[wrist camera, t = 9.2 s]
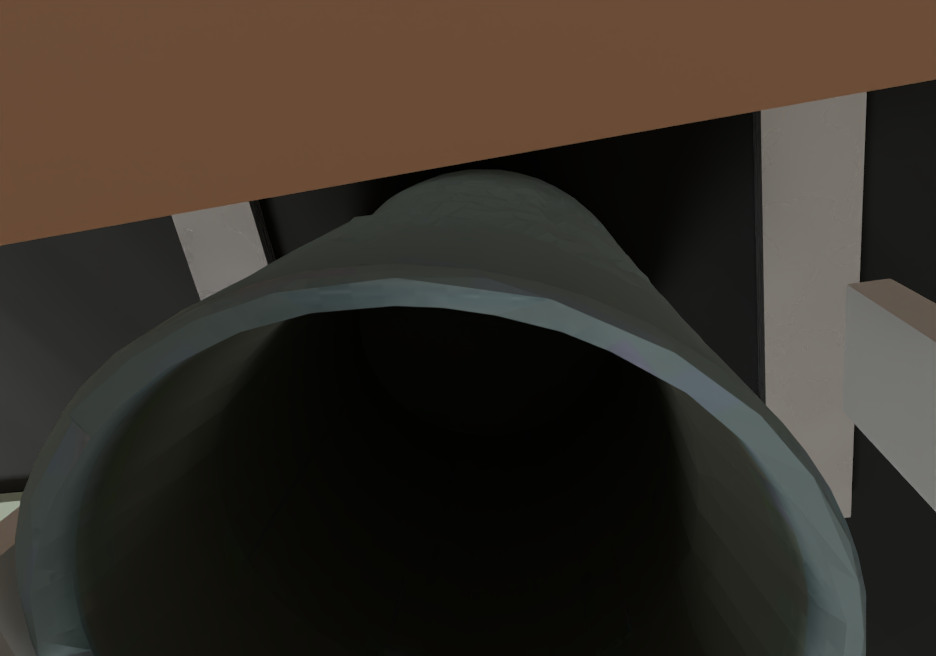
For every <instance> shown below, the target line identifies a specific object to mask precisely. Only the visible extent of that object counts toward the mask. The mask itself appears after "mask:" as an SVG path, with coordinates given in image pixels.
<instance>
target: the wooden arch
mask: <svg viewBox="0 0 936 656" xmlns="http://www.w3.org/2000/svg"><path fill="white" fill-rule="evenodd" d="M935 79H936V0H0V245H6V244H11V243H17V242H23V241H28V240H34V239H40V238H45V237H51V236H57V235H62V234H68V233H73V232H79V231H85V230H90V229H96V228H102V227H107V226H113V225H118V224H124V223H130V222H135V221H141V220H147V219H152V218H158V217H164V216H169V215H175V214H180V213H186V212H192V211H197V210H203V209H209V208H214V207H220V206H225V205H231V204H237V203H242V202H248V201H254V200H259V199H265V198H271V197H276V196H282V195H287V194H293V193H299V192H304V191H310V190H316V189H321V188H327V187H333V186H338V185H344V184H349V183H355V182H361V181H366V180H372V179H378V178H383V177H389V176H395V175H400V174H406V173H411V172H417V171H423V170H428V169H434V168H440V167H445V166H451V165H456V164H462V163H468V162H473V161H479V160H485V159H490V158H496V157H501V156H507V155H513V154H518V153H524V152H530V151H535V150H541V149H547V148H552V147H558V146H563V145H569V144H575V143H580V142H586V141H592V140H597V139H603V138H609V137H614V136H620V135H625V134H631V133H637V132H642V131H648V130H654V129H659V128H665V127H670V126H676V125H682V124H687V123H693V122H699V121H704V120H710V119H716V118H721V117H727V116H732V115H738V114H744V113H749V112H755V111H761V110H766V109H772V108H778V107H783V106H789V105H794V104H800V103H806V102H811V101H817V100H823V99H828V98H834V97H840V96H845V95H851V94H856V93H862V92H868V91H873V90H879V89H885V88H890V87H896V86H901V85H907V84H913V83H918V82H924V81H930V80H935Z"/></svg>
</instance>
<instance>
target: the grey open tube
mask: <svg viewBox="0 0 936 656" xmlns="http://www.w3.org/2000/svg"><path fill="white" fill-rule="evenodd" d="M15 558H16V581H17V590H18V594H19V598H20V601H21V605H22V609H23V612H24V616H25V620H26V624H27V627H28V631H29V635H30V639H31V642H32V646H33V648H34V650H35V653H36V655H37V656H865V654H866V591H865V587H864V582H863V577H862V572H861V567H860V562H859V557H858V554H857V551H856V548H855V545H854V542H853V539H852V536H851V533H850V531H849V528H848V525H847V523H846V521H845V519H844V516H843V514H842V512H841V510H840V508H839V506H838V504H837V501H836V499H835V497H834V495H833V493H832V491H831V489H830V487H829V486H828V484H827V483H826V481H825V479H824V478H823V476H822V475H821V473H820V472H819V470H818V469H817V467H816V466H815V464H814V463H813V461H812V460H811V458H810V457H809V455H808V453H807V452H806V451H805V450H804V448H803V447H802V446H801V445H800V443H799V442H798V441H797V440H796V438H795V437H794V436H793V435H792V433H791V432H790V431H789V430H788V429H787V427H786V426H785V425H784V424H783V422H782V421H781V420H780V419H779V418H778V417H777V416H776V415H775V414H774V413H773V412H772V411H771V410H770V409H769V408H768V407H767V406H766V405H765V404H764V403H763V402H762V401H761V400H760V399H759V398H758V397H757V396H756V394H755V393H754V392H753V391H752V390H751V389H750V388H749V387H748V386H747V385H746V384H745V383H744V382H743V381H742V380H741V379H740V378H739V377H738V376H737V375H736V374H735V373H734V372H733V371H732V370H731V369H730V368H729V367H728V366H727V365H726V364H725V362H724V361H723V360H722V359H721V358H720V357H719V356H718V355H717V354H716V353H715V352H714V351H713V350H712V349H711V348H710V347H708V346H707V345H706V344H705V343H704V341H703V340H702V339H701V337H700V336H699V335H698V334H697V333H696V332H695V331H694V330H693V329H692V328H691V327H690V326H689V325H688V324H687V323H686V322H685V321H684V320H683V319H682V318H681V317H680V315H679V314H678V313H677V312H676V311H675V309H674V308H673V307H672V306H671V305H670V304H669V303H668V301H667V300H666V299H665V298H664V297H663V296H662V295H661V294H660V293H659V292H658V291H657V290H656V289H655V287H654V286H653V285H652V284H651V283H650V281H649V279H648V277H647V276H646V275H645V274H644V273H642V272H641V271H640V270H639V269H638V267H637V266H636V265H635V264H634V262H633V261H632V260H631V259H630V257H629V256H628V255H626V254H625V252H624V251H623V250H622V248H621V247H620V246H619V245H618V244H617V243H616V241H615V240H614V238H613V237H612V236H611V235H610V233H609V232H608V231H607V230H606V228H605V227H604V226H603V225H602V223H601V222H600V221H599V220H598V219H597V218H596V217H595V216H594V215H593V214H592V213H591V212H590V211H589V210H588V209H586V208H585V207H584V206H583V205H582V204H580V203H579V202H578V201H577V200H576V199H575V198H573V197H572V196H570V195H568V194H567V193H565V192H563V191H562V190H560V189H558V188H557V187H555V186H553V185H551V184H548V183H546V182H544V181H542V180H540V179H537V178H534V177H531V176H527V175H524V174H520V173H517V172H511V171H505V170H499V169H468V170H463V171H457V172H452V173H446V174H442V175H439V176H436V177H434V178H431V179H428V180H425V181H423V182H420V183H417V184H415V185H413V186H411V187H409V188H407V189H405V190H403V191H401V192H399V193H398V194H396V195H394V196H393V197H391V198H390V199H389V200H387V201H386V202H385V203H384V204H383V205H382V206H380V207H379V208H378V209H377V210H376V211H375V212H374V213H373V215H368V216H359V217H355V218H353V219H352V220H351V221H349V222H348V223H346V224H344V225H342V226H340V227H338V228H336V229H335V230H333V231H331V232H329V233H327V234H325V235H323V236H321V237H319V238H317V239H315V240H313V241H311V242H309V243H307V244H305V245H304V246H302V247H300V248H298V249H296V250H294V251H292V252H290V253H288V254H286V255H285V256H283V257H281V258H279V259H278V260H276V261H274V262H272V263H270V264H269V265H267V266H265V267H263V268H262V269H260V270H258V271H257V272H255V273H253V274H252V275H250V276H248V277H246V278H244V279H242V280H240V281H238V282H236V283H234V284H232V285H230V286H228V287H226V288H224V289H222V290H221V291H219V292H217V293H215V294H213V295H211V296H209V297H207V298H205V299H203V300H201V301H199V302H197V303H195V304H193V305H191V306H190V307H188V308H186V309H184V310H182V311H180V312H179V313H177V314H176V315H174V316H173V317H171V318H169V319H168V320H166V321H165V322H163V323H161V324H160V325H158V326H157V327H155V328H154V329H152V330H150V331H149V332H147V333H146V334H144V335H142V336H141V337H139V338H138V339H136V340H135V341H133V342H131V343H130V344H128V345H127V346H125V347H124V348H122V349H120V350H119V351H117V352H116V353H115V354H114V355H113V356H112V357H111V358H110V359H109V360H108V361H107V362H106V363H105V364H104V365H103V366H102V367H101V368H99V369H98V370H97V371H96V372H95V373H94V374H93V375H92V376H91V377H90V378H89V379H88V380H87V381H86V382H85V383H84V384H83V385H82V386H81V387H80V389H79V390H78V391H77V393H76V394H75V396H74V397H73V398H72V400H71V401H70V402H69V404H68V405H67V406H66V408H65V409H64V411H63V413H62V415H61V416H60V418H59V420H58V421H57V423H56V425H55V427H54V428H53V430H52V432H51V433H50V435H49V437H48V438H47V440H46V442H45V444H44V445H43V447H42V449H41V450H40V452H39V454H38V456H37V458H36V461H35V463H34V466H33V468H32V471H31V473H30V476H29V479H28V481H27V484H26V486H25V489H24V491H23V494H22V496H21V499H20V506H19V513H18V520H17V528H16V535H15Z"/></svg>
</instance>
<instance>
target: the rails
mask: <svg viewBox="0 0 936 656" xmlns="http://www.w3.org/2000/svg"><path fill="white" fill-rule="evenodd" d="M866 99H867V92H862V93H856V94H851V95H845V96H840V97H834V98H828V99H823V100H817V101H811V102H806V103H800V104H794V105H789V106H783V107H778V108H772V109H766V110H761V111H755V112H753V144H754V190H755V237H756V283H757V330H758V377H759V399H760V400H761V401H762V402H763V403H764V404H765V405H766V406H767V407H768V408H769V409H770V410H771V411H772V412H773V413H774V414H775V415H776V416H777V417H778V418H779V419H780V420H781V421H782V422H783V424H784V425H785V426H786V427H787V429H788V430H789V431H790V432H791V433H792V435H793V436H794V437H795V438H796V440H797V441H798V442H799V443H800V445H801V446H802V447H803V448H804V450H805V451H806V452H807V453H808V455H809V457H810V458H811V460H812V461H813V463H814V464H815V466H816V467H817V469H818V470H819V472H820V473H821V475H822V476H823V478H824V479H825V481H826V483H827V484H828V486H829V487H830V489H831V491H832V493H833V495H834V497H835V499H836V501H837V504H838V506H839V508H840V510H841V512H842V514H843V516H844V518H846V517H851V494H852V468H853V441H854V423H853V422H852V420H851V419H850V418H849V417H848V416H847V415H846V414H845V413H844V412H843V379H844V348H845V317H846V285H847V284H852V283H860V257H861V231H862V204H863V178H864V152H865V126H866ZM172 218H173V221H174V224H175V227H176V230H177V233H178V236H179V239H180V242H181V244H182V247H183V250H184V253H185V256H186V259H187V262H188V265H189V268H190V270H191V273H192V276H193V279H194V282H195V285H196V288H197V291H198V294H199V297H200V299H201V300H203V299H205V298H207V297H209V296H211V295H213V294H215V293H217V292H219V291H221V290H222V289H224V288H226V287H228V286H230V285H232V284H234V283H236V282H238V281H240V280H242V279H244V278H246V277H248V276H250V275H252V274H253V273H255V272H257V271H258V270H260V269H262V268H263V267H265V266H267V265H269V264H270V263H272V262H274V261H276V258H275V255H274V252H273V248H272V245H271V241H270V238H269V235H268V231H267V228H266V224H265V221H264V218H263V214H262V211H261V207H260V204H259V201H258V200H254V201H248V202H242V203H237V204H231V205H225V206H220V207H214V208H209V209H203V210H197V211H192V212H186V213H180V214H175V215H172Z"/></svg>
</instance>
